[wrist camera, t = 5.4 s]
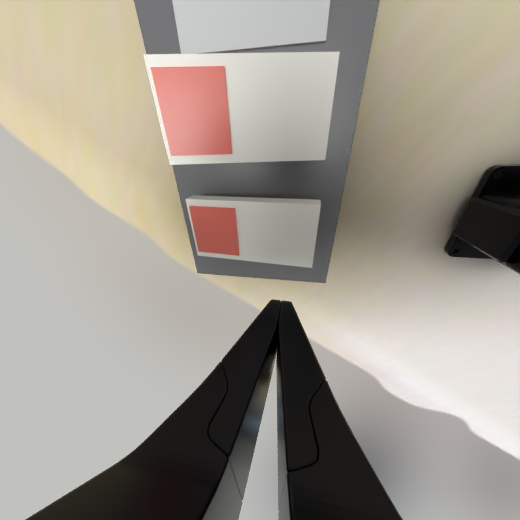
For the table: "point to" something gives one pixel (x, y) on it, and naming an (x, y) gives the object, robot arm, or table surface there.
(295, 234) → the rocker
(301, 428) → the robot arm
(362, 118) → the table surface
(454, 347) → the table surface
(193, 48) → the rocker switch panel
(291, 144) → the rocker
